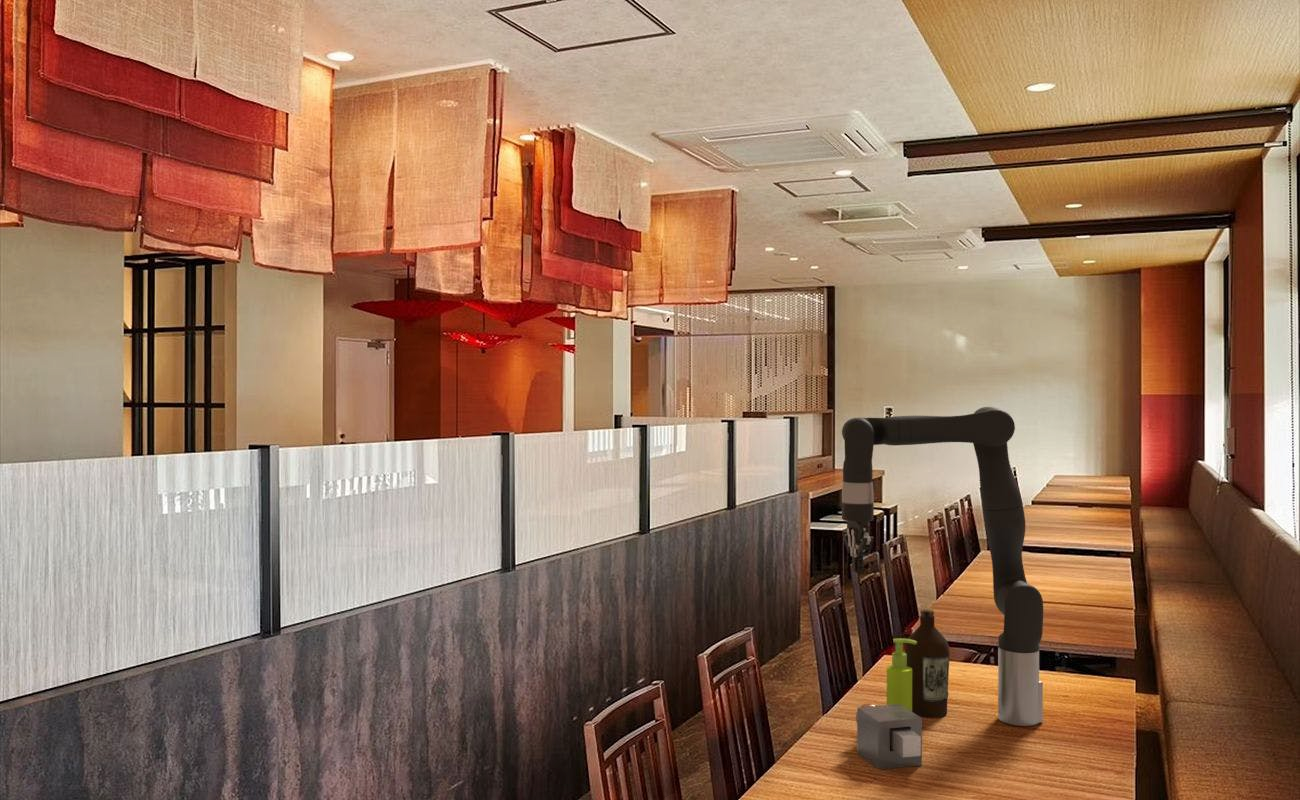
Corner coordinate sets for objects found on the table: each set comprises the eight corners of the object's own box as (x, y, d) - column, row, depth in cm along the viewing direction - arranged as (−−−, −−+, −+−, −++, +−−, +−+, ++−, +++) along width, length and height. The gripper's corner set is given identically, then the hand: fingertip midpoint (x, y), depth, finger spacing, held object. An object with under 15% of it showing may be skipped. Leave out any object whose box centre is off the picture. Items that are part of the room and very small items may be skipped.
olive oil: (896, 708, 258) (896, 607, 258) (934, 704, 261) (934, 604, 261) (919, 721, 248) (919, 616, 248) (958, 716, 251) (958, 613, 251)
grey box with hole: (899, 749, 229) (899, 703, 228) (921, 765, 219) (921, 717, 219) (857, 753, 226) (857, 707, 226) (878, 769, 216) (878, 721, 216)
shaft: (880, 729, 233) (880, 702, 233) (925, 760, 214) (925, 731, 213) (855, 731, 231) (855, 704, 231) (898, 762, 212) (898, 733, 212)
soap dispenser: (917, 728, 243) (917, 642, 243) (886, 726, 244) (887, 641, 244) (916, 720, 248) (916, 637, 248) (886, 718, 250) (886, 635, 250)
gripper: (884, 503, 245) (884, 576, 245) (859, 497, 258) (859, 567, 258) (855, 504, 243) (855, 578, 243) (831, 498, 256) (831, 568, 256)
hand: (857, 572), depth 251 cm, fingers closed
